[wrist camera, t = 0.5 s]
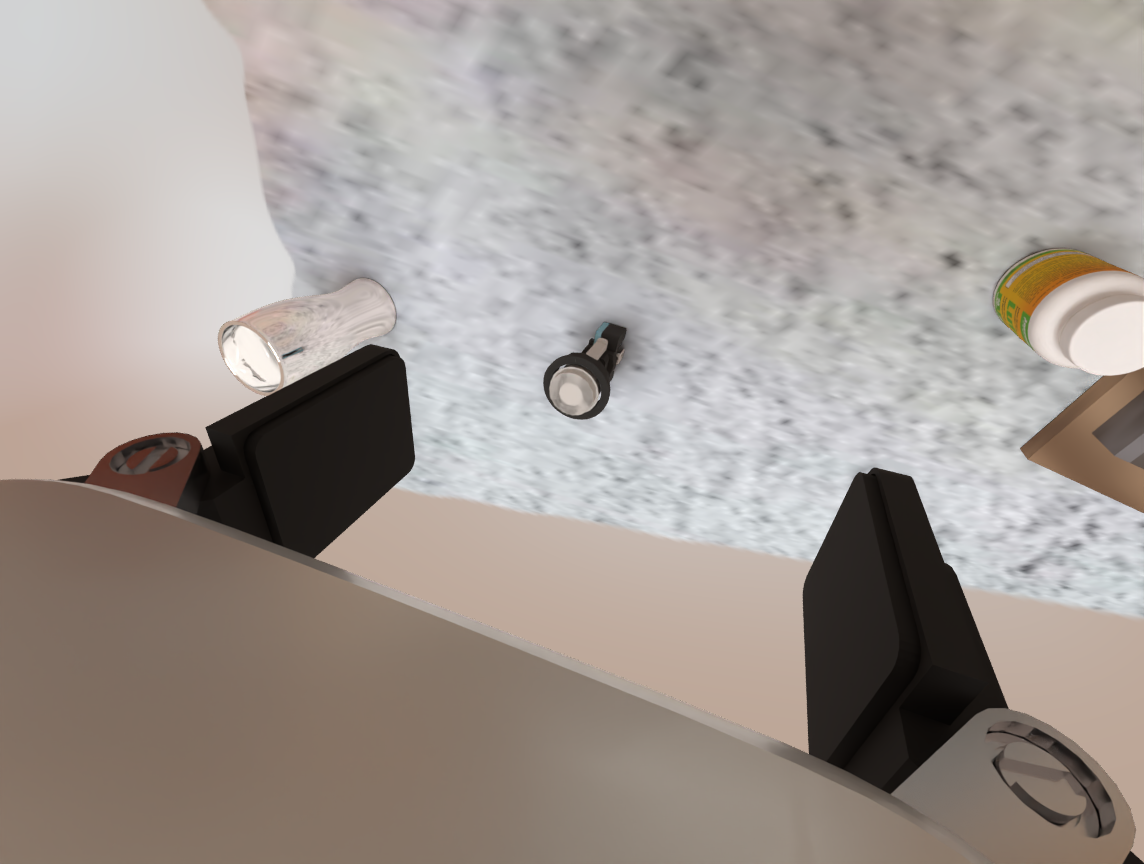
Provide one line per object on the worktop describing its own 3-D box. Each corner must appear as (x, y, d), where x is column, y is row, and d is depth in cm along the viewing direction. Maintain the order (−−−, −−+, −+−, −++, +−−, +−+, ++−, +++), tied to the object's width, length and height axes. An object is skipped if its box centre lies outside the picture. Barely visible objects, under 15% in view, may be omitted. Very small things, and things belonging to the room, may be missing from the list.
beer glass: (375, 262, 50) (245, 306, 38) (411, 326, 52) (300, 386, 40) (332, 287, 54) (201, 334, 41) (368, 346, 56) (254, 407, 44)
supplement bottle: (972, 289, 34) (1027, 337, 27) (1065, 228, 31) (1159, 262, 23) (1021, 344, 35) (1089, 407, 27) (1117, 290, 32) (1225, 343, 24)
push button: (626, 393, 48) (593, 448, 40) (574, 376, 49) (532, 426, 41) (643, 329, 44) (611, 374, 36) (586, 311, 45) (543, 352, 37)
